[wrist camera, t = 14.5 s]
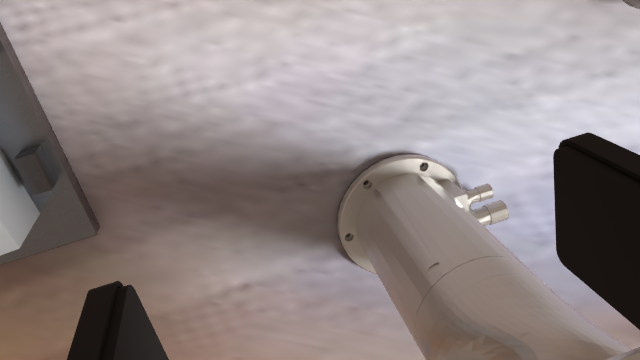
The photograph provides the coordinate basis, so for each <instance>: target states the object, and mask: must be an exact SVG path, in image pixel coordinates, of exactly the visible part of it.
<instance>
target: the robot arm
mask: <svg viewBox="0 0 640 360" xmlns="http://www.w3.org/2000/svg"><path fill="white" fill-rule="evenodd" d="M553 159H554V190H555V221H556V250H557V254H558V257H559V259H560V261H561V262H562V264H563V265H564V266H565V267H566V268H567V269H569V270H570V271H571V272H572V273H573V274H575V275H576V276H577V277H578V278H579V279H580V280H582V281H583V282H584V283H585V284H586V285H588V286H589V287H590V288H591V289H592V290H593V291H595V292H596V293H597V294H598V295H599V296H600V297H602V298H603V299H604V300H605V301H606V302H608V303H609V304H610V305H611V306H612V307H613V308H615V309H616V310H617V311H618V312H619V313H621V314H622V315H623V316H624V317H625V318H626V319H628V320H629V321H630V322H631V323H632V324H633V325H635V326H636V327H637V328H638V329H639V330H640V155H638V154H636V153H634V152H631V151H629V150H627V149H625V148H623V147H620V146H618V145H616V144H614V143H612V142H610V141H607V140H605V139H603V138H601V137H599V136H596V135H594V134H592V133H585V134H582V135H578V136H575V137H572V138H569V139H566V140H563V141H562V142H561V143H560V145H559V149H556V150H555V152H554V157H553ZM421 164H422V165H421ZM420 165H421V166H420ZM366 180H367V182H366V183H364V182H365V181H366ZM492 197H493V190H492V187H491V186H490V185H489V184H485V185H482V186H478V187H475V188H474V189H471V190H468V191H466V190H465V189H462V187H461V185H460V183H459V182H458V180H457V178H456V177H455V176H454V175H453V173H452V172H451V171H450V170H449V169H448V168H446V167H445V166H444V165H443V164H441V163H440V162H438V161H436V160H434V159H432V158H429V157H426V156H422V155H413V154H406V155H397V156H393V157H390V158H387V159H384V160H382V161H380V162H378V163H376V164H374V165H372V166H371V167H369V168H368V169H367V170H365V171H364V172H362V173H361V174H360V175H359V176H358V177H357V178H356V179H355V181H354V182H353V183H352V184H351V186H350V187H349V189H348V190H347V191H346V193H345V195H344V197H343V200H342V202H341V204H340V208H339V213H338V225H337V228H338V233H339V238H340V240H341V242H342V245H343V247H344V249H345V251H346V252H347V254H348V256H349V257H350V258H351V259H352V260H353V261H354V262H355V263H356V264H357V265H359V266H360V267H362V268H363V269H365V270H367V271H370V272H372V273H375V274H378V276H379V278H380V280H381V282H382V283H383V285H384V287H385V289H386V290H387V292H388V294H389V296H390V297H391V299H392V301H393V303H394V304H395V306H396V308H397V310H398V311H399V313H400V315H401V317H402V319H403V320H404V322H405V324H406V326H407V327H408V329H409V331H410V333H411V334H412V336H413V338H414V340H415V341H416V343H417V345H418V347H419V348H420V350H421V352H422V353H423V355H424V357H425V359H426V360H640V347H639V348H636V349H633V350H632V349H630V348H629V347H627V346H626V345H624V344H623V343H621V342H620V341H618V340H617V339H615V338H614V337H612V336H611V335H609V334H608V333H606V332H605V331H603V330H602V329H600V328H599V327H597V326H596V325H595V324H593V323H592V322H591V321H589V320H588V319H587V318H585V317H584V316H583V315H581V314H580V313H579V312H577V311H576V310H575V309H574V308H572V307H571V306H570V305H569V304H568V303H566V302H565V301H564V300H563V299H562V298H561V297H559V296H558V295H557V294H556V293H555V292H554V291H553V290H552V289H551V288H549V287H548V286H547V285H546V284H545V283H544V282H543V281H542V280H541V279H540V278H539V277H538V276H537V275H535V274H534V273H533V272H532V271H531V270H530V269H529V268H528V267H527V266H526V265H524V264H523V263H522V262H521V261H520V260H519V259H518V258H517V257H516V256H515V255H514V254H513V253H512V252H511V251H510V250H509V249H508V248H507V247H505V246H504V245H503V244H502V243H501V242H500V241H499V240H498V239H497V238H496V237H495V236H494V235H493V234H492V233H491V232H490V231H489V230H488V229H487V228H486V227H484V226H485V225H488V224H489V225H492V224H495V223H498V222H501V221H504V220H507V219H508V218H509V212H508V208H507V206H506V205H505V203H504V202H503V201H501V200H499V201H496V202H493V203H490V204H487V205H484V206H482V207H481V208H478V209H475V210H472V209H471V208H469V207H471V204H472V203H475V202H478V201H479V202H481V201H484V200H487V199H490V198H492ZM348 233H349V234H348ZM346 234H347V235H346ZM67 360H169V359H168V357H167V355H166V353H165V351H164V349H163V347H162V345H161V343H160V341H159V338H158V336H157V334H156V332H155V330H154V328H153V326H152V324H151V322H150V320H149V318H148V316H147V314H146V312H145V310H144V307H143V305H142V303H141V301H140V299H139V297H138V295H137V293H136V291H135V289H134V287H133V286H132V285H127V286H123V285H122V283H121V282H119V281H116V282H113V283H110V284H107V285H104V286H101V287H97V288H94V289H91V290H89V292H88V294H87V297H86V300H85V303H84V306H83V310H82V313H81V316H80V319H79V322H78V326H77V329H76V332H75V335H74V338H73V342H72V345H71V348H70V351H69V354H68V358H67Z"/></svg>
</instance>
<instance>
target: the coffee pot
mask: <svg viewBox="0 0 640 360" xmlns="http://www.w3.org/2000/svg"><path fill="white" fill-rule="evenodd" d="M623 1H624V2H625V3H626V4H628V5H629V6H632V7H635V8H638V9H640V0H623Z"/></svg>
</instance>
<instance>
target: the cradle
mask: <svg viewBox="0 0 640 360" xmlns="http://www.w3.org/2000/svg"><path fill="white" fill-rule="evenodd" d="M0 150H1V151H2V153H3V155H4V156H5V158H6V159H7V161H8V163H9V164H10V166H11V167H12V169H13V171H14V172H15V174H16V175H17V177H18V179H19V180H20V182H21V183H22V185H23V187H24V188H25V190H26V191H27V193H28V195H29V196H30V198H31V199H32V201H33V203H34V204H35V206H36V207H37V209H38V211H39V212H40V215H39V216H38V218H37V220H36V221H35V223H34V225H33V226H32V228H31V230H30V231H29V233H28V235H27V237H26V238H25V240H24V242H23V243H22V245H21V247H20V248H19V249H17V250H14V251H11V252H9V253H6V254H4V255H2V256H0V264H3V263H6V262H10V261H13V260H16V259H20V258H23V257H26V256H29V255H33V254H36V253H39V252H42V251H46V250H49V249H52V248H56V247H59V246H62V245H65V244H69V243H72V242H75V241H78V240H82V239H85V238H88V237H91V236H95V235H97V233H98V230H99V227H100V226H99V224H98V222H97V220H96V218H95V216H94V214H93V211H92V209H91V207H90V205H89V203H88V201H87V199H86V197H85V195H84V193H83V191H82V189H81V187H80V185H79V183H78V181H77V179H76V177H75V175H74V173H73V171H72V168H71V166H70V164H69V162H68V160H67V158H66V156H65V154H64V152H63V150H62V148H61V146H60V144H59V142H58V140H57V138H56V136H55V134H54V132H53V130H52V127H51V125H50V123H49V121H48V119H47V117H46V115H45V113H44V111H43V109H42V107H41V105H40V103H39V101H38V99H37V97H36V95H35V93H34V91H33V89H32V86H31V84H30V82H29V80H28V78H27V76H26V74H25V72H24V70H23V68H22V66H21V64H20V62H19V60H18V58H17V56H16V54H15V52H14V50H13V48H12V45H11V43H10V41H9V39H8V37H7V35H6V33H5V31H4V29H3V27H2V25H1V23H0Z"/></svg>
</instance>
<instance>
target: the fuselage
mask: <svg viewBox="0 0 640 360" xmlns="http://www.w3.org/2000/svg"><path fill="white" fill-rule="evenodd" d="M39 215H40V212H39V211H38V209H37V207H36V206H35V204H34V203H33V201H32V199H31V198H30V196H29V195H28V193H27V191H26V190H25V188H24V187H23V185H22V183H21V182H20V180H19V179H18V177H17V175H16V174H15V172H14V171H13V169H12V167H11V166H10V164H9V163H8V161H7V159H6V158H5V156H4V155H3V153H2V151H1V150H0V256H2V255H4V254H6V253H9V252H11V251H14V250H17V249H19V248H20V247H21V245H22V243H23V242H24V240H25V238H26V237H27V235H28V233H29V231H30V230H31V228H32V226H33V225H34V223H35V221H36V220H37V218H38V216H39Z"/></svg>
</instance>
